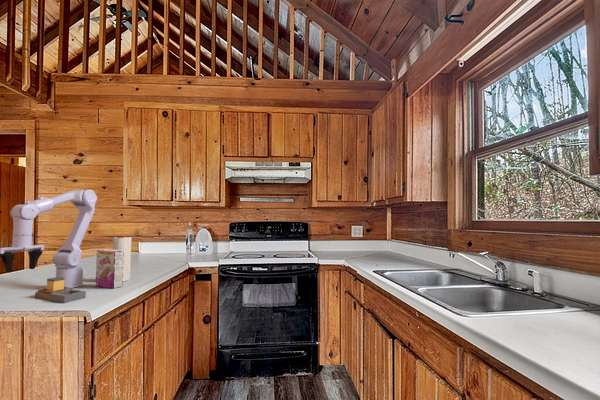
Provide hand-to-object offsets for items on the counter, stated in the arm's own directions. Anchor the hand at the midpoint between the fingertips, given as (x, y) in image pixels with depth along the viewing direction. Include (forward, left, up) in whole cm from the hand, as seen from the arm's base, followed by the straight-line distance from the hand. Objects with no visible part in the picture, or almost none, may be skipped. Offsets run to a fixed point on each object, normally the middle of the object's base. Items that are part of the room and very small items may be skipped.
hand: (20, 270), depth 125 cm
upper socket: (-7, +10, -10) cm, 16 cm away
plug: (-7, +10, -8) cm, 14 cm away
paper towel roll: (-37, +9, -11) cm, 40 cm away
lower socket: (-6, +19, -10) cm, 22 cm away
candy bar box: (-27, +14, -11) cm, 32 cm away
